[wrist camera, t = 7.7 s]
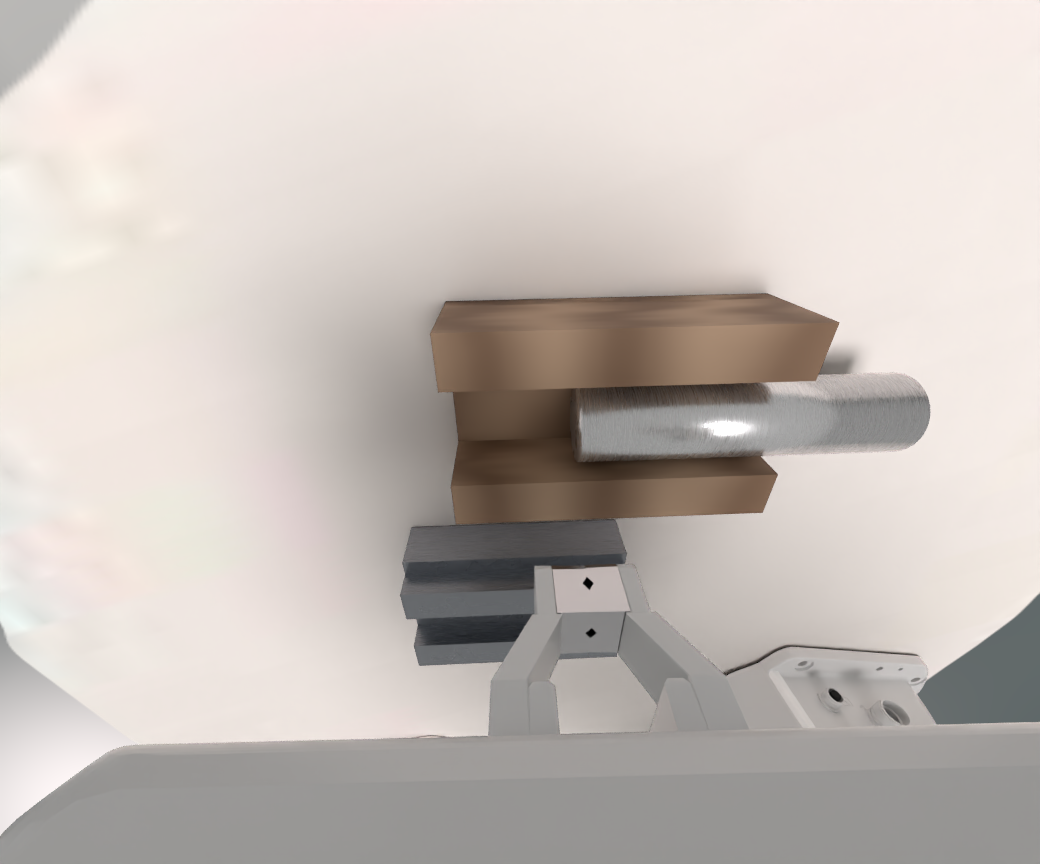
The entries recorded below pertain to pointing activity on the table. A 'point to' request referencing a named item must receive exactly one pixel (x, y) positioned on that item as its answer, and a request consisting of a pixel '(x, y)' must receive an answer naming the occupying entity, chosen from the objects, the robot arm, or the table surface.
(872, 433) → the axle
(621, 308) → the wooden channel cradle
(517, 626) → the v block
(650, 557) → the table surface
